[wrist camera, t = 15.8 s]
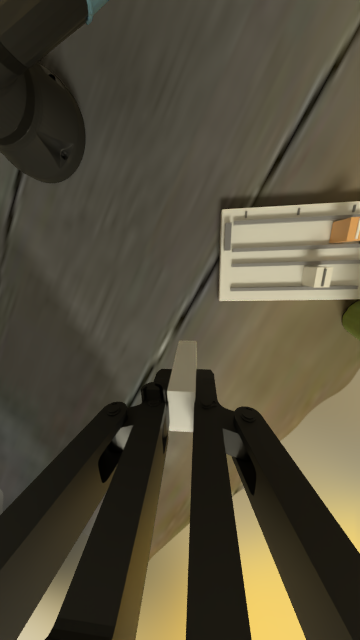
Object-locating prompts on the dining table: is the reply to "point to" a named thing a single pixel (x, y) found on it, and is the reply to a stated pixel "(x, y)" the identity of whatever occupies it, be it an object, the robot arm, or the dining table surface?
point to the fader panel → (287, 254)
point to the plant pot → (352, 320)
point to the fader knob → (345, 230)
